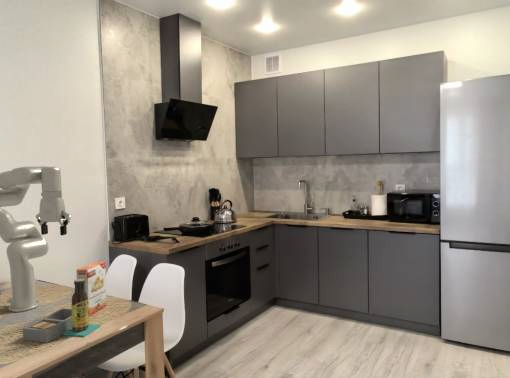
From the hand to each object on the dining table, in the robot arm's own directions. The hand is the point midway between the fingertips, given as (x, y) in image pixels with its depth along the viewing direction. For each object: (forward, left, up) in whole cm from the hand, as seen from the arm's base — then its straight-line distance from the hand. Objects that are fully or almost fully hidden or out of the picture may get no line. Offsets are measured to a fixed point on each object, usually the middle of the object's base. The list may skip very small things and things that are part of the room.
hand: (54, 234), depth 170 cm
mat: (+21, -11, -36) cm, 43 cm away
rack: (+10, -12, -36) cm, 40 cm away
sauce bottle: (+20, -11, -36) cm, 43 cm away
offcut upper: (+9, -18, -34) cm, 40 cm away
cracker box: (+11, +9, -36) cm, 39 cm away
